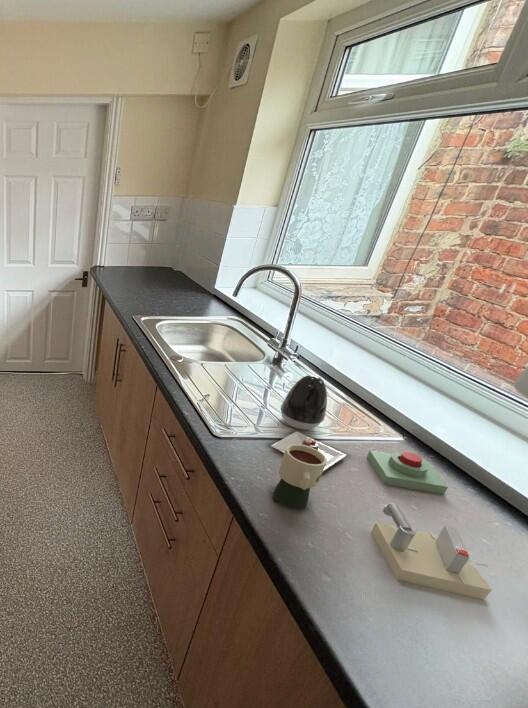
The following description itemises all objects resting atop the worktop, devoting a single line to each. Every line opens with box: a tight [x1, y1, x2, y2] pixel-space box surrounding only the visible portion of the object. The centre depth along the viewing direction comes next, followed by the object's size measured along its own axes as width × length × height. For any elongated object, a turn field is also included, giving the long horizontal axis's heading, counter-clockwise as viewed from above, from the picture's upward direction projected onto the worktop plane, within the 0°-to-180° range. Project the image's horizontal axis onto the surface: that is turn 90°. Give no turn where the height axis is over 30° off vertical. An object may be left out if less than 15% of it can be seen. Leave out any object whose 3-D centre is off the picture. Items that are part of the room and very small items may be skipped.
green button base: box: [366, 449, 449, 495], centre depth 96 cm, size 11×10×4 cm
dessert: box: [270, 430, 347, 471], centre depth 103 cm, size 12×12×5 cm
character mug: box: [272, 444, 327, 510], centre depth 87 cm, size 11×7×13 cm, turn 157°
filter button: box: [399, 451, 423, 467], centre depth 95 cm, size 4×4×2 cm
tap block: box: [371, 522, 492, 600], centre depth 74 cm, size 14×11×4 cm
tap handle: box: [436, 525, 470, 574], centre depth 72 cm, size 7×2×4 cm, turn 149°
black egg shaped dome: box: [280, 374, 328, 431], centre depth 112 cm, size 10×10×15 cm
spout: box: [382, 503, 417, 551], centre depth 77 cm, size 2×8×5 cm, turn 161°
